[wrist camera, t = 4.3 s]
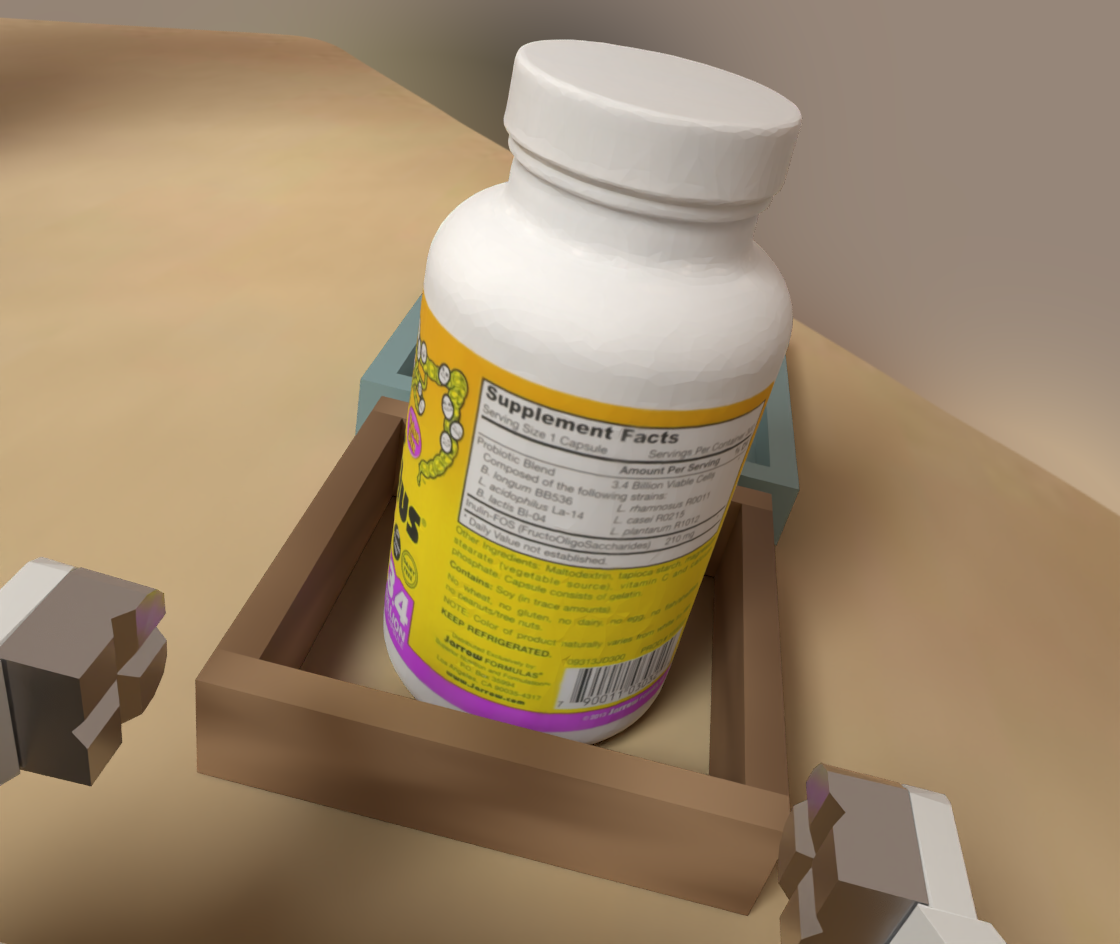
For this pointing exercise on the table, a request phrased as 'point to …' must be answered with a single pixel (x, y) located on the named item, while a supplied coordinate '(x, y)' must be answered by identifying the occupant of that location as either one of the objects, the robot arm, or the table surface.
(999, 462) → the table surface
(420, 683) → the supplement bottle
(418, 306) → the tray
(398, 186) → the table surface
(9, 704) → the robot arm
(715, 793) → the brown wooden tray
